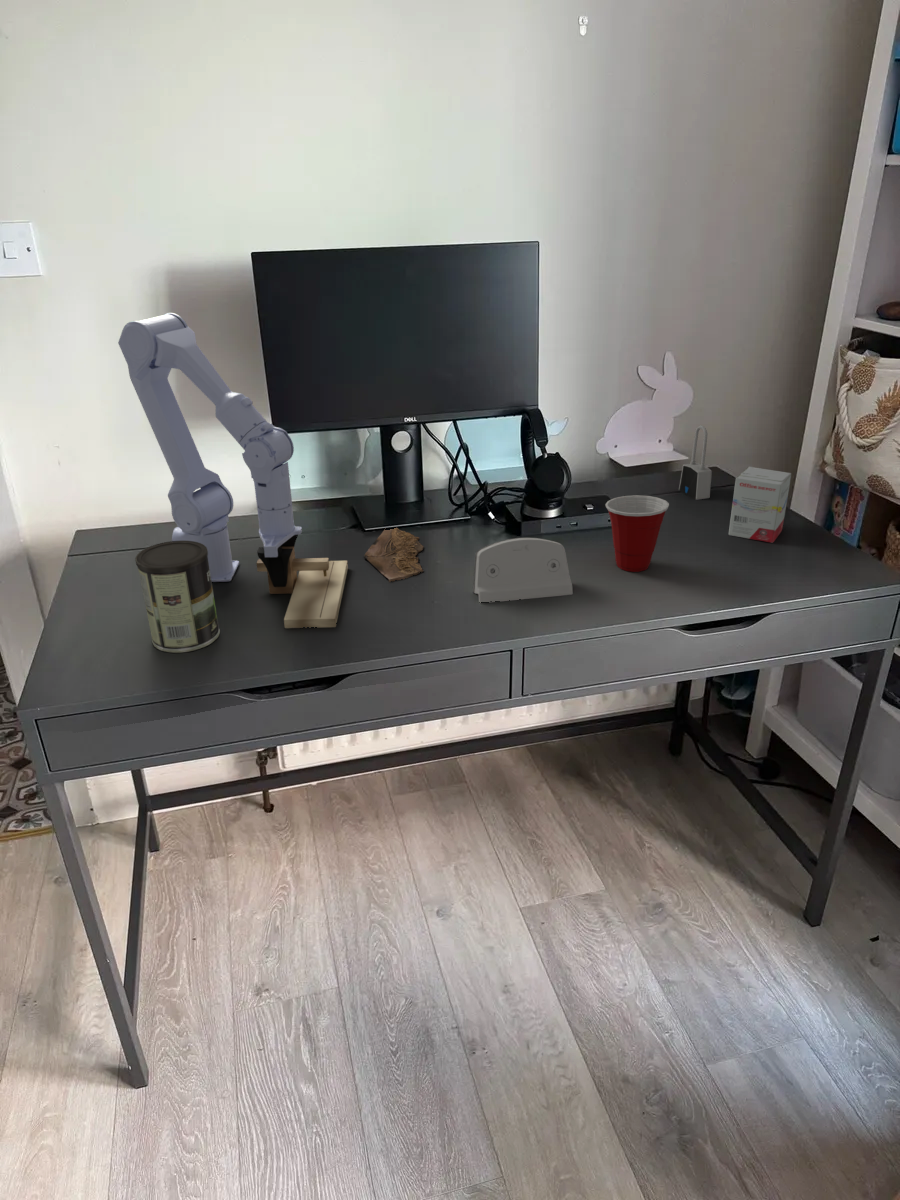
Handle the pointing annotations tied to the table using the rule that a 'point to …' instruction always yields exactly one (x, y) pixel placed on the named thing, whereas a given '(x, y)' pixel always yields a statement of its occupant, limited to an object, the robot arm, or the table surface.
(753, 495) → the ink box
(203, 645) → the coffee can
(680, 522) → the table surface
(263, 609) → the table surface
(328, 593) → the board
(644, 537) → the plastic cup
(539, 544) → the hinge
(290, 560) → the gauge
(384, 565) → the wooden fragment
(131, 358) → the robot arm
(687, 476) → the padlock
